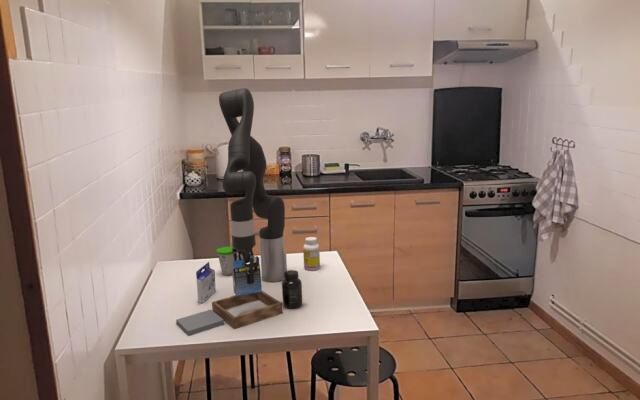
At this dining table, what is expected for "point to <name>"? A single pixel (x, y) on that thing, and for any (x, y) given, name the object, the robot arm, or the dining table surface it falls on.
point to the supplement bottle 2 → (311, 254)
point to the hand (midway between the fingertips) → (246, 281)
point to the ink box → (205, 283)
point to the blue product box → (245, 279)
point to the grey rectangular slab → (199, 322)
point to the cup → (226, 260)
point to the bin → (250, 317)
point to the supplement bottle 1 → (292, 290)
